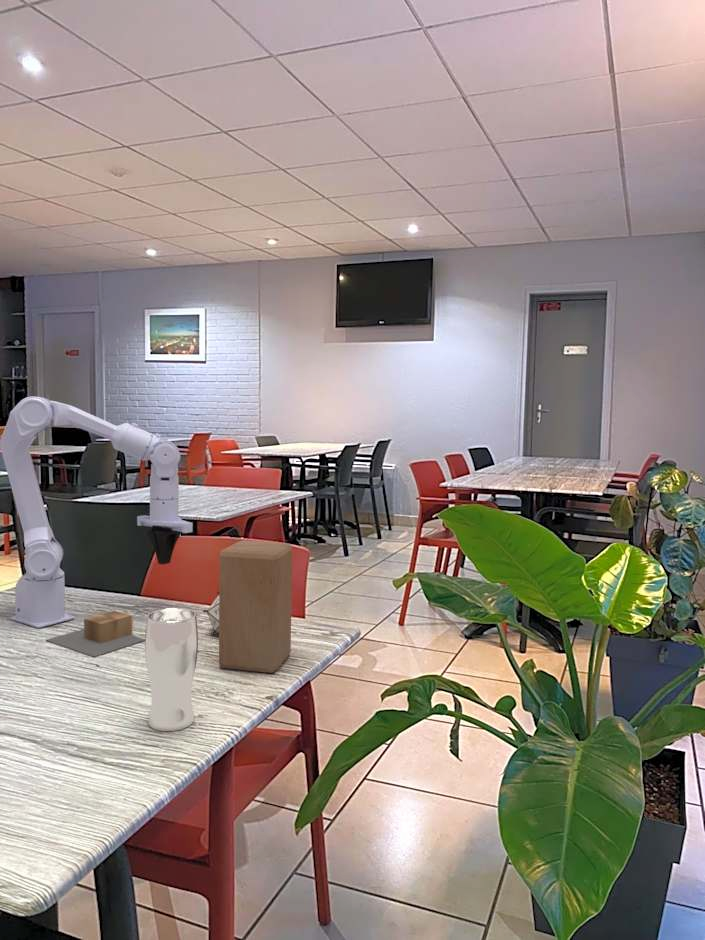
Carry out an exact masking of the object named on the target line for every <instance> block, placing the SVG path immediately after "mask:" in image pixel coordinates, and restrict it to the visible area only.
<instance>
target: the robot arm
mask: <svg viewBox="0 0 705 940" xmlns="http://www.w3.org/2000/svg"><path fill="white" fill-rule="evenodd" d="M52 424H53V426H54V427H55V426H57V427H58V426H69V425H70V426H73V427H76V428H77V429H81V430H82V431H86V432H89V433H90V434H91V433H92V434H94V435H97V436H100V437H102V438H105V439H107V440H109V441H110V442H111V444H112V447H113V450H116V451H119V452H121V453H124V454H127V455H129V456H132V457H133V458H136V459H139V460H141V461H143V462H144V461H150V462H151V464H150V468H151V469H150V472H151V473H150V476H149V515H138V516H137V517H136V523H137V524H136V526H139V527H141V526H144V527H150V528H151V529H148V530H146V535H147V536H148V538H149V540H150V542H151V544H152V546H153V550H154V552H155V556H156V561H157V564H158V565H168V564H170V563H171V559H172V556H173V552H174V550H175V546H176V544H177V542H178V540H179V538H180V536H181V534H188V533H193V526H194V525H193V523H194V522H191V521H187V520H183V519H182V517H180V516H179V514H180V513H179V509H180V508H179V505H180V504H179V500H180V499H179V497H180V496H179V492H180V491H179V490H180V489H179V488H180V487H179V486H180V485H179V483H180V481H179V479H180V478H179V475H178V474H179V467H178V464H179V463H180V460H181V454H180V451H179V450H180V449H179V447H178V446H177V445H176V444H175V443H174V442H173V441H171V440H169V439H168V438H161V437H162V435H161V434H159V433H157V432H156V434H154V433H151V432H149V431H146V430H144V429H141V428H139V424H137V423H136V422H132V423H131V424H130V423H128V422H125V423H121V424H119V425H115V424H113V423H111V422H110V421H109V422H108V421H106V420H104V419H102V418H101V417H97V416H96V415H93V414H91V413H88V412H86V411H84V410H82V409H80V408H78V407H76V406H73V405H70V404H66V403H62V402H60V401H55V400H50V399H47V398H46V397H43V396H36V395H35V396H27V397H25V398H23V399H21V400H20V401H19V402H18V403H17V404H16V405H15V406H14V407H13V409H12V410H10V412H9V416H8V419H7V421H6V425H5V426H4V429H3V432H2V434H1V437H0V451H1V454H2V459H3V463H4V466H5V469H6V474H7V477H8V480H9V484H10V488H11V491H12V494H13V499H14V503H15V506H16V509H17V513H18V516H19V520H20V524H21V527H22V531H23V543H24V544H23V545H24V547H25V557H24V563H23V564H24V565H23V566H24V569H25V571H26V572H25V573H24V574H23V575H22V576H20V577H19V578H18V580H17V582H16V584H15V588H14V599H15V602H14V603H15V605H14V606H15V607H14V608H15V615H14V616H11V617H10V618H11V620H12V621H15V622H19V623H22V624H24V625H27V626H31V627H33V628H37V629H39V628H40V629H41V628H43V627H48V626H51V625H55V624H59V623H64V622H67V621H70V620H74V619H75V616H74V615H72V614H69V613H66V612H65V611H66V608H65V607H66V606H65V605H66V604H65V603H66V602H65V601H66V600H65V599H66V598H65V597H66V595H65V585H66V584H65V571H64V570H62V569H61V567H60V566H61V562H62V561H63V557H64V549H63V547H62V545H61V543H59V542H58V541H57V539H56V538H55V534H54V532H53V529H52V528H51V525H50V523H49V519H48V516H47V512H46V509H45V503H44V500H43V497H42V493H41V488H40V485H39V481H38V478H37V475H36V470H35V466H34V463H33V458H32V456H31V451H30V447H31V445H32V443H34V441H35V439H36V438H37V437H38V435H39V434H40V433H41V432H43V431H44V430H46V428H48V427H49V426H50V425H52Z"/></svg>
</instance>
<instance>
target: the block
mask: <svg viewBox="0 0 705 940" xmlns="http://www.w3.org/2000/svg"><path fill="white" fill-rule="evenodd" d="M218 570H219V575H218V576H219V582H218V583H219V589H218V591H219V632H218V665H219V667H220V668H222V669H229V670H240V671H247V672H248V671H250V672H260V673H267V672H268V673H269V674H272V673H274V672H276V671H277V669H278V668H279V667H280V666H281V665H282V664H283V662H284V661H285V660H286V659H287V657H289V655H290V653H291V648H292V647H291V646H292V643H291V641H292V640H291V639H292V597H293V596H292V594H293V593H292V587H293V547H292V544H290V543H287V542H275V541H258V540H257V541H256V540H247V539H246V540H245V539H243V540H242V539H241V540H240V541H238V542H236V543H233V544H231V545H230V546H227V547H225V548H223V549H221V551H220V553H219V569H218ZM268 673H267V674H268Z"/></svg>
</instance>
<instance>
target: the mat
mask: <svg viewBox="0 0 705 940" xmlns="http://www.w3.org/2000/svg"><path fill="white" fill-rule="evenodd" d="M45 641H46V642H48V643H51V644H53V643H54V645H56V644H58V645H57V646H59V645H60V647H62V646H63V648H65V647H66V648H65V649H68V648H69V650H71V649H72V651H74V650H75V652H77V651H78V652H77V653H80V652H81V653H80V654H83V655H86V654H87V655H86V656H88V657H93V658H97V657H101V656H104V655H106V653H107V654H109V652H110V653H112V651H113V652H115V651H118V650H121V649H124V648H127V647H131V646H134V645H137V644H140V643H142V642H143V643H144V642H145V638H142V637H139V636H136V635H134V634H130V635H127V636H124V637H121V638H118V639H114V640H111V641H108V642H105V643H98V642H95V641H92V640H89V639H86V638H84V628H83V629H79V630H75V631H73V632H72V631H71V632H68V633H64V634H61V635H58V636H54V637H51V638H48V639H45ZM103 654H104V655H103ZM100 655H101V656H100Z"/></svg>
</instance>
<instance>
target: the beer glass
mask: <svg viewBox="0 0 705 940" xmlns="http://www.w3.org/2000/svg"><path fill="white" fill-rule="evenodd" d="M145 624H146V626H145V635H144V636H145V637H144V639H145V641H144V652H145V653H144V654H145V655H144V657H145V664H146V670H147V671H146V672H147V675H148V681H149V686H150V691H151V692H150V693H151V705H150V711H149V716H148V725H149V727H150V728H151V729H153V730H155V731H158V732H176V731H180V730H183V729H186V728H188V727H190V726H191V725H192V724H193V723H194V722H195V714H194V709H193V702H192V690H193V683H194V678H195V673H196V668H197V667H196V666H197V661H198V660H197V659H198V654H199V653H198V652H199V651H198V650H199V635H198V634H199V633H198V630H199V629H198V620H197V612H196V611H195V610H193V609H189V608H185V607H167V608H159V609H156V610H153V611H151V612H149V613H147V615H146V622H145Z"/></svg>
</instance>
